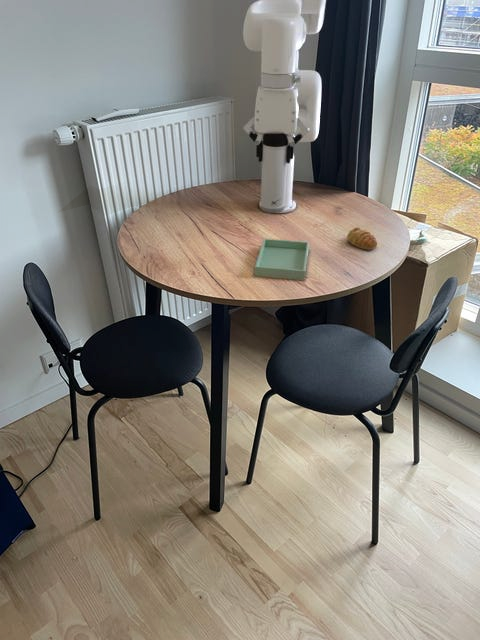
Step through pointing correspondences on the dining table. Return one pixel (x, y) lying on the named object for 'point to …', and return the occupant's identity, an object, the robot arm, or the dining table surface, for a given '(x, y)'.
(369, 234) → the pastry
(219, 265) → the dining table surface
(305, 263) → the tray
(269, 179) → the travel mug
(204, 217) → the dining table surface
